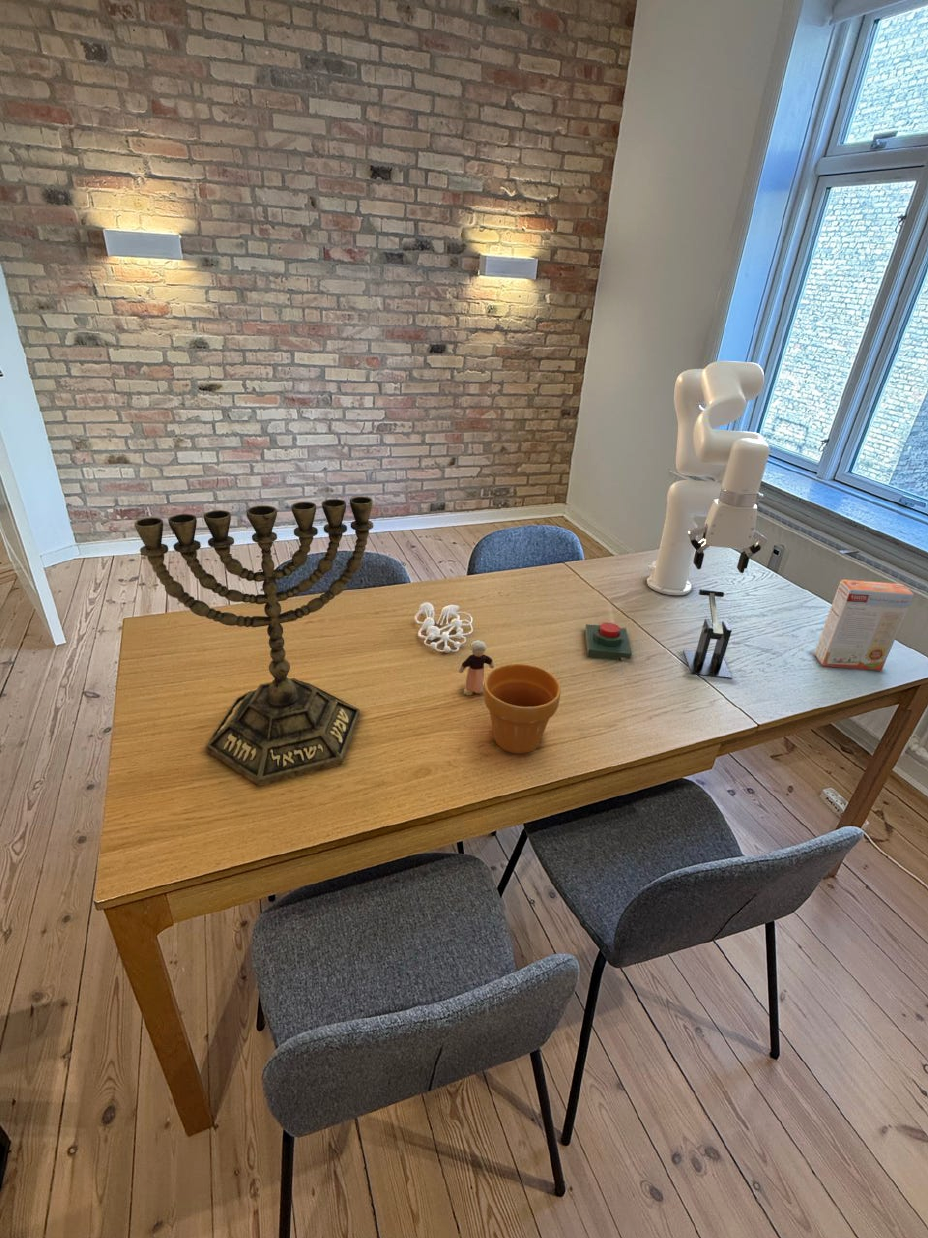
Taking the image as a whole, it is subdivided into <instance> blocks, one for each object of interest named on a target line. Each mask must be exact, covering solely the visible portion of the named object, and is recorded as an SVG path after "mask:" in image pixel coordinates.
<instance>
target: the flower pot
mask: <svg viewBox="0 0 928 1238" xmlns="http://www.w3.org/2000/svg"><path fill="white" fill-rule="evenodd" d="M483 690H484V693H483V701H484V704H485V706H486V708H487V710H489V716H490V722H491V729H492V733H493V737H494V741H495V743H496V744H497V745H498V747H500V748H501V749H502V750H504V751H505V752H509V753H512V754H525V753H526V754H527V753H531V752H532V751H534V750H535V749H537V747H538V746H539V744H540V742H541V740H542V737H543V735H544V734H545V731H546V728H547V725H548V722H549V721H550V718H552V717H553V716H554V715H555V713H556V712H557V710H558V708H559V704H560V700H561V695H562V694H561V692H562V688H561V684H560V682H559V680H558V679H557V677H556V676H555V675H554V674H552V673H551V672H549V671H548V670H546V669H544V668H541V667H539V666H536V665H531V664H526V663H509V664H504V665H500V666H498V667H494V668H493V669H492V670H491V671H490V672H488V673H487V675H486V676H485V678H484V680H483Z"/></svg>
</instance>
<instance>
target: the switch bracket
mask: <svg viewBox="0 0 928 1238" xmlns="http://www.w3.org/2000/svg"><path fill="white" fill-rule="evenodd" d="M721 624H722V627H723V636H722V637H721V639H720V640H718V639H716V642H715V646H714V650H713V652H708V649H709V647H710V642H711V640H712V639H711V636H712V632H713V626H712V621H711V620H710V619H709V618H704V621H703V624H702V628H701V631H700V635H699V639H698V643H697V647H696V650H695V651H694V650H683V654H684V658H685V660H686V661H685V662H686V663H687V666H688V669H689V671H690V675H692V676H702V677H710V678H719V679H729V680H732V679H733V677H732V674H731V672H730V669H729V667H728V665H727V663H726V662H725V659H724V658H725V655H726V651H727V648H728V644H729V642H730V638H731V636H732V628H731V626H730V624H729V622H728V620H722V622H721Z"/></svg>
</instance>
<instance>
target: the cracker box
mask: <svg viewBox="0 0 928 1238" xmlns="http://www.w3.org/2000/svg"><path fill="white" fill-rule="evenodd" d="M914 597H915V593H914V592H913V591H911V590H910V589H909V588H908V587H906V586H905V585H904V584H903V583H894V582H881V581H869V580H868V581H867V580H855V579H840V581H839V584H838V587H837V590H836V593H835V594H834V597H833V601H832V603H831V606H830V608H829V611H828V615H827V616H826V619H825V622H824V625H823V628H822V630H821V634H820V637H819V639H818V642H817V644H816V648H815V650H814V653H813V655H814V656H815V657H816V659H817V660H818V662H819V663H820V665H821V666H823V667H829V668H841V669H853V670H864V671H866V670H867V671H876V672H877V671H878V672H882V671H883V668H884V666H885V664H886V661H887V659H888V657H889V655H890V653H891V650H892V649H893V648H892V647H893V646H894V643H895V641H896V639H897V637H898V634H899V631H900V629H901V627H902V625H903V622H904V620H905V618H906V615H907V613H908V610H909V608H910V606H911V604H912V602H913V599H914Z"/></svg>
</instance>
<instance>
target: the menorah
mask: <svg viewBox="0 0 928 1238" xmlns="http://www.w3.org/2000/svg"><path fill="white" fill-rule="evenodd" d="M373 503H374V502H373V499H372V498H371V497H369V496H353V497H350V499H349V506H350V509H351V513H352V515H353V519H354V520H353V521H352V522H350V529H352V530H353V531H354V533H355V536H356V538H357V539H356V540H355V545H354V550H353V551H352V555H351V556H350V557H349V558H348V559H347V561H346V563H345V564H346V565H345V566H346V567H345V569H343V570H342V573H341V574H339V578H335V580H333V581H332V582H331V584H330V585H329V587H328V589H327V590H325V591H324V593H321V594H320V595H319V597H314V598H312V599H311V600H309V601H308V602H307V604H303V605H301V606H300V607H296V608H295V609H290V610H287V611H285V612H282V606H281V604H280V603H279V602H284V601H287V600H288V599H289V598H293V597H294V596H298V595H299V594H300V593H305V592H308V591H309V590H311V589H312V588H313V587H314V586H315V584H317V583H319V582H320V579H322V578H323V577H325V574H326V573H328V572H330V571H331V570H332V569H333V566H334V560H335V559H336V557H337V554H338V552H339V551H338V549H339V548H340V541H341V540H342V538H343V535H344V534H345V533H346V532H347V531H348V526H347V525H346V524H345V523H343V521H344V516H345V515H346V510H347V502H346V501H345V500H343V499H340V498H339V499H338V498H330V499H325V500H322V502H321V508H322V511H323V513H324V516H325V519H326V522H327V523H326V524H324V526H323V532H324V533H326V534H327V535H328V539H329V541H328V543H327V546H328V547H327V548H326V553H325V554H324V556H323V557H322V558H320V559H319V561H318V562H317V567H316V568H315V569H314V570H313V572H311V573H309V577H307V578H304V579H302V580H300V581H299V582H298V583H297V584H296V585H294V586H292V587H291V588H287V589H286V590H280V591H279V584H278V581H276V580H281V579H284V578H285V577H286V576H287V577H289V576H291V575H292V574H293V573H294V572H296V571H297V570H298V568H300V567H302V566H303V565H305V564H306V562H307V560H308V554H309V553H310V552H311V545H312V543H313V541H314V537H315V536H317V535H318V534H319V529H318V528H317V527H316V526H313V525H314V521H315V517H316V513H317V504H316V503H314V502H311V501H297V502H294V503H292V504H291V506H290V509H291V513H292V515H293V518H294V520H295V522H296V525H297V527H295V528H294V529H293V535H294V536H295V537H298V540H299V544H300V545H299V546H298V549H297V550H296V551H295V552H294V553H293V554H292V555H291V561H288V562H287V564H286V565H282V568H276V569H275V562H274V560H273V556H272V549H271V548H272V546H273V543H274V542H275V541H277V539H278V534H277V533H276V532H275V531H273V530H274V527H275V522H276V519H277V517H278V510H277V508H276V507H275V506H272V505H262V504H261V505H254V506H251V507H249V508H247V509H246V510H245V513H246V518H247V519H248V522H249V523H250V525H251V526H252V528H253V530H254V531H255V532H254V533H253V534H252V535H251V540H252V541H253V542H254V543H256V544H257V545H258V548H260V550H261V552H260V553H261V563H260V567H261V571H256V572H254V571H253V570H252V569H248V568H247V567H243V564H242V562H241V561H240V560H238V559H236V558H233V556H232V555H231V546H233V545H234V544H235V539H234V537H233V536H231V535H229V533H230V527H231V522H232V521H231V520H232V514H231V512H230V511H228V510H223V509H217V510H216V509H215V510H210V511H207V512H204V513H203V522H204V523H205V525H206V527H207V529H208V530H209V533H210V535H211V537H210V538H209V539H207V545H208V546H209V547H210V548H212V549H213V548H214V551H215V553H216V554H217V555H218V556H219V560H220V562H221V564H223V565H224V567H225V570H226V571H227V572H228V573H229V574H232V575H234V576H237V577H239V578H240V579H242V580H246V581H248V582H252V581H254V582H256V583H260V582H261V583H262V586H261V588H262V592H263V593H264V594H263V593H259V594H258V593H257V594H256V595H255V594H254V593H250V594H249V593H243V592H242V591H240V590H238V589H229V588H228V587H227V586H226V585H223V584H222V583H220V582H218V581H217V579H216V577H215V576H214V575H213V574H211V573H208V572H207V571H206V569H204V567H203V565H202V564H201V563H200V559H198V558H197V557H198V550H200V549H201V547H202V543H201V542H200V541H199V540H196V539H195V537H196V530H197V526H198V525H197V524H198V518H197V516H196V515H194V514H190V513H180V514H175V515H172V516H170V517H168V519H167V521H168V525H169V527H170V529H171V531H172V533H173V534H174V537H175V538H176V540H177V542H175V543H174V544H173V550H174V551H175V552H177V553H180V556H181V557H182V558H183V560H184V561H185V562H186V565H187V566H188V568H189V569H190V572H191V573H192V574H193V576H194V578H195V579H198V583H199V584H200V586H201V587H202V588H203V589H206V590H211V591H212V592H213V594H217V595H218V596H219V597H220V598H221V597H222V598H225V599H226V600H228V601H230V602H233V603H241V602H242V603H245V604H247V603H250V604H256V605H264V607H263V608H264V609H263V612H264V615H263V616H262V615H253V616H250V615H246V616H245V615H236V614H235V613H233V612H228V611H226V612H225V611H223V612H222V611H220V610H216V609H214V608H211V607H210V606H209V605H208V604H207V603H206V602H205V601H202V600H200V599H195V597H194V596H192V595H190V593H188V592H186V591H185V588H184V586H183V585H182V583H180V582H179V581H176V580H175V579H174V577H173V575H171V574H170V571H169V569H167V565H166V564H165V563H164V562H165V555H166V554H167V553H168V552H169V546H168V545H167V544H165V543H162V542H163V534H164V521H163V519H162V518H159V517H153V516H152V517H143V518H140V519H137V520H136V521H134V523H133V524H134V528H135V531H136V532H137V534H138V536H139V537H140V539H141V541H142V543H143V546H142V547H141V548H140V549H139V552H140V555H142V556H143V557H147V558H146V559H147V560H148V562H149V564H150V566H151V568H152V571H153V572H154V573H156V574H155V576H156V578H157V579H159V582H160V584H161V585H163V586H164V591H165V593H166V594H167V595H168V596H169V597H172V598H174V599H177V601H178V602H179V603H181V604H183V606H184V608H188V609H189V610H190V611H191V612H192V614H195V615H196V616H199V617H205V618H206V619H208V620H213V621H214V622H219V623H220V624H222V625H225V626H229V627H233V626H237V627H240V628H242V627H246V628H250V627H251V628H260V627H267V628H266V632H267V635H268V637H269V639H268V646H269V648H270V651H269V655H270V656H269V657H270V658H271V661H270V662H269V665H268V671H269V673H270V675H271V676H272V677H273V678H274V679H272V681H270V682H266V683H261V684H259V686H258V687H257V688H256V689H254V690H250V691H247V692H246V693H243V694H242V695H240V696H238V697H237V698H236V699H235V701H234V702H233V704H232V705H231V707H230V708H229V710H228V711H227V713H226V715H225V716H224V718H223V719H222V721H221V722H220V724H219V725H218V727H217V728H216V730H215V731H214V732H213V734H212V736H211V737H210V739H209V740H208V742H207V743H206V745H205V748H206V752H207V753H208V754H210V755H212V756H213V757H215V758H216V759H217V760H219V761H221V762H222V763H224V764H225V765H227V766H228V767H230V768H231V769H233V770H234V771H235V772H237V773H239V774H240V775H242V776H243V777H245V778H246V779H248V780H249V781H251V782H252V783H254V784H255V785H257V786H258V787H262V786H266V785H270V784H274V783H277V782H281V781H285V780H288V779H293V778H297V777H300V776H304V775H307V774H311V773H315V772H319V771H323V770H328V769H330V768H334V767H338V766H342V765H343V762H344V759H345V757H346V754H347V752H348V748H349V746H350V743H351V740H352V737H353V735H354V732H355V730H356V727H357V725H358V721H359V719H360V716H361V712H360V708H358V707H355V706H353V705H351V704H350V703H348V702H347V701H344V700H342V699H340V698H338V697H337V696H335V695H332V694H331V693H329V692H326V691H325V690H323V689H321V688H319V687H317V686H315V685H313V684H311V683H309V682H306V681H303V680H299V679H297V678H295V677H290V678H289V677H288V675H289V673H290V670H291V664H290V662H289V661H288V660H287V659H286V656H287V655H286V653H287V652H286V650H285V648H284V647H285V638H284V637H283V635H284V627H283V625H282V624H284V623H290V622H294V621H297V620H298V619H302V618H303V617H304V616H309V615H310V614H311V613H315V612H317V611H319V610H321V609H323V607H324V606H325V605H327V604H329V602H330V601H332V600H334V598H335V597H336V596H339V595H340V594H341V593H343V592H344V590H345V589H346V587H347V584H348V583H350V582H351V578H354V574H355V573H356V572H357V571H358V570H359V569H360V568H361V567H362V563H363V561H362V559H363V558H364V556H365V551H366V550H367V549H366V546H367V545H368V537H369V534H370V530H372V529H373V528H374V523H373V522H372V521H371V520H370V516H371V512H372V508H373V505H374V504H373ZM265 615H266V616H265Z"/></svg>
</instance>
